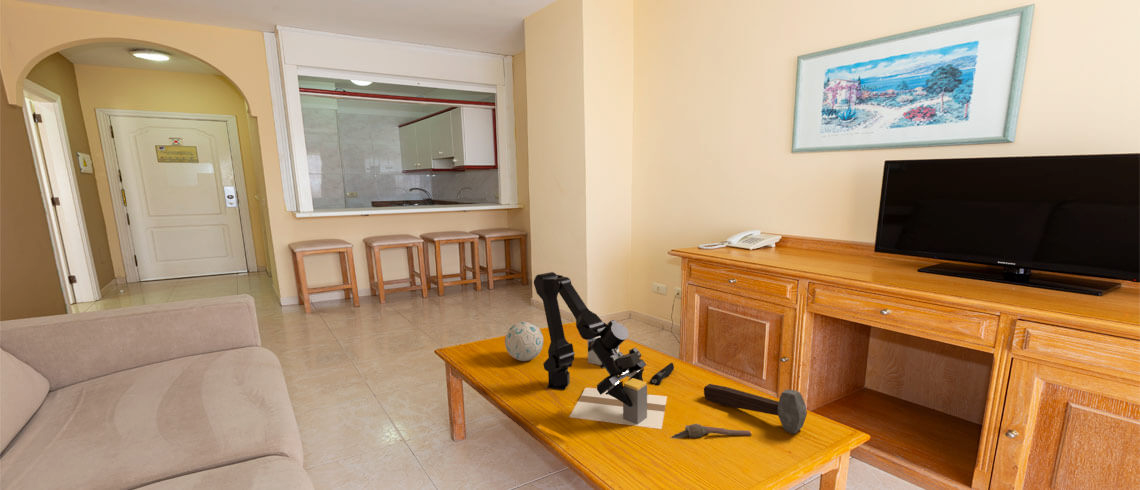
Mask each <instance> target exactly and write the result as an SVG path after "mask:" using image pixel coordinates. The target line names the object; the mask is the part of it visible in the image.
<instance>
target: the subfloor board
mask: <svg viewBox="0 0 1140 490" xmlns="http://www.w3.org/2000/svg"><path fill="white" fill-rule="evenodd" d="M607 392H608V391H606V392H605V393H607ZM605 393H603V394H601V395H600V393H599V392H598V390H597V388H596V387H595V388H593V387H585V388H584V390H583V392H582V393H581V395H580V397H579V399H578V401H577V402H576V403H575V406H574V407H573V409H572V410H571V413H570V414H569V416H568V417H569V418H573V419H581V420H589V421H598V422H604V423H605V422H606V423H612V424H619V425H620V424H621V425H628V426H636V427H640V428H641V427H642V428H648V429H649V428H650V429H659V430H662V428H663V423H664V417H665V412H666V404H667V399H668V395H667V396H666V395H665V396H664V395H657V394H655V395H654V394H648V393H647V418H646V419H644V420H643V421H642V422H640V423H639V424H638V425H637V424H635V423H632V422H630V421H627V420H625V419H623V402H621V401H620V400H618V399H616V398H614V397H612V396H610V395H609V394H607V395H606V394H605Z"/></svg>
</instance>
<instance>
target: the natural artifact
mask: <svg viewBox="0 0 1140 490" xmlns="http://www.w3.org/2000/svg"><path fill="white" fill-rule="evenodd" d="M705 434H717V435H718V434H719V435H726V436H728V435H731V436H752V433H751V431H750V430H738V429H737V430H735V429H728V428H727V429H726V428H724V427H713V426H703V425H702V424H699V423H693V424H690V425H689V424H688V425H687V424H685V427H684V430H682V431H680V432H678V433H674V435H672V436H670V439H682V438H687V437H688V439H689V438H690V439H691V438H693V439H697V438H702V437H704V435H705Z"/></svg>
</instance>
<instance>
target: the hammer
mask: <svg viewBox="0 0 1140 490" xmlns="http://www.w3.org/2000/svg"><path fill="white" fill-rule="evenodd" d="M703 395H704V396H703V397H704V398H705V401H708V402H710V403H714V404H717V405H721V406H726V407H731V408H734V409H740V410H746V411H751V412H757V413H763V414H766V415H767V414H769V415H773V416H778V418H779V421H780V423H781V425H782V427H783V430H784V431H785V432H787V433H790V434H791V435H796V434H797V433H798V432H799V431H800V430H801V429H802V428H803V426H804V423H805V421H806V417H807V415H808V412H807V407H806V403H805V401H804V399H803V395H802V394H801V392H800V391H797V390H796V389H795V390H794V389H788V388H786V389H785V390H784V391H782V392H781V393H780V396H779V399H778V400H774V399H770V398H767V397H763V396H760V395H756V394H754V393H749V392H745V391H744V390H743V391H741V390H739V389H736V388H732V387H728V386H724V385H717V384H713V383H709V384H707V385H705V386H704V387H703Z"/></svg>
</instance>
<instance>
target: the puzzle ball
mask: <svg viewBox="0 0 1140 490" xmlns="http://www.w3.org/2000/svg"><path fill="white" fill-rule="evenodd" d="M543 335H544V334H543V333H542V331H541V330H540V328H539V327H538V326H537V325H535V324H533V323H531V322H529V321H528V322H527V321H523V322H521V321H520V322H517V323H516V324H514V325H512V326H511V327H510V328H509V330H508V331H507V333H506V335H505V338H504V345H505V349H506V351H507V353H508V354H509V356H511V357H512V358H513V359H516V360H518V361H520V362H527V361H531V360H533V359H535V358H536V357H537V356H538V355H540V354H541V351H542V349H543V346H544V336H543Z"/></svg>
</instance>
